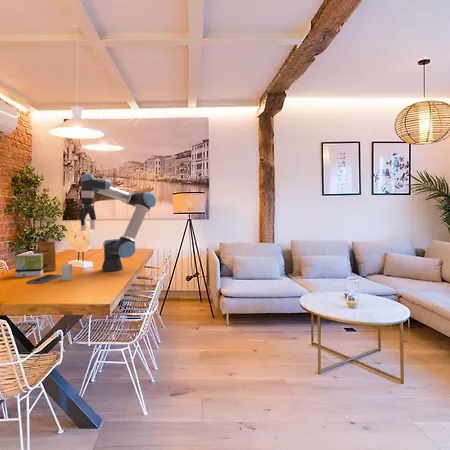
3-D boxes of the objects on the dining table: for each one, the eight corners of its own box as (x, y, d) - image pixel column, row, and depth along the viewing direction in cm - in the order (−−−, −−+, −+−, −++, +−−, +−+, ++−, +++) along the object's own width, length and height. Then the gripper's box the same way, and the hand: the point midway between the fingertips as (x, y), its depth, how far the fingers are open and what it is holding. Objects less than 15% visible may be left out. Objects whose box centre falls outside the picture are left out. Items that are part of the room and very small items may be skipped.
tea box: (15, 277, 210) (14, 255, 209) (18, 275, 219) (18, 253, 219) (41, 276, 215) (40, 254, 215) (43, 273, 225) (43, 252, 224)
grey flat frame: (47, 276, 214) (47, 274, 214) (62, 276, 214) (62, 274, 214) (26, 284, 192) (26, 281, 192) (42, 284, 192) (42, 281, 192)
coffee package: (35, 270, 236) (35, 241, 235) (54, 269, 243) (54, 240, 242) (37, 272, 228) (36, 242, 227) (56, 271, 235) (56, 241, 234)
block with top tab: (63, 279, 205) (63, 264, 204) (74, 279, 205) (74, 264, 204) (59, 281, 200) (59, 265, 200) (71, 281, 200) (70, 265, 200)
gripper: (90, 198, 222) (90, 229, 222) (72, 196, 197) (73, 231, 197) (100, 198, 221) (101, 229, 222) (84, 196, 197) (85, 231, 197)
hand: (88, 230), depth 210 cm, fingers open, 13 cm apart
